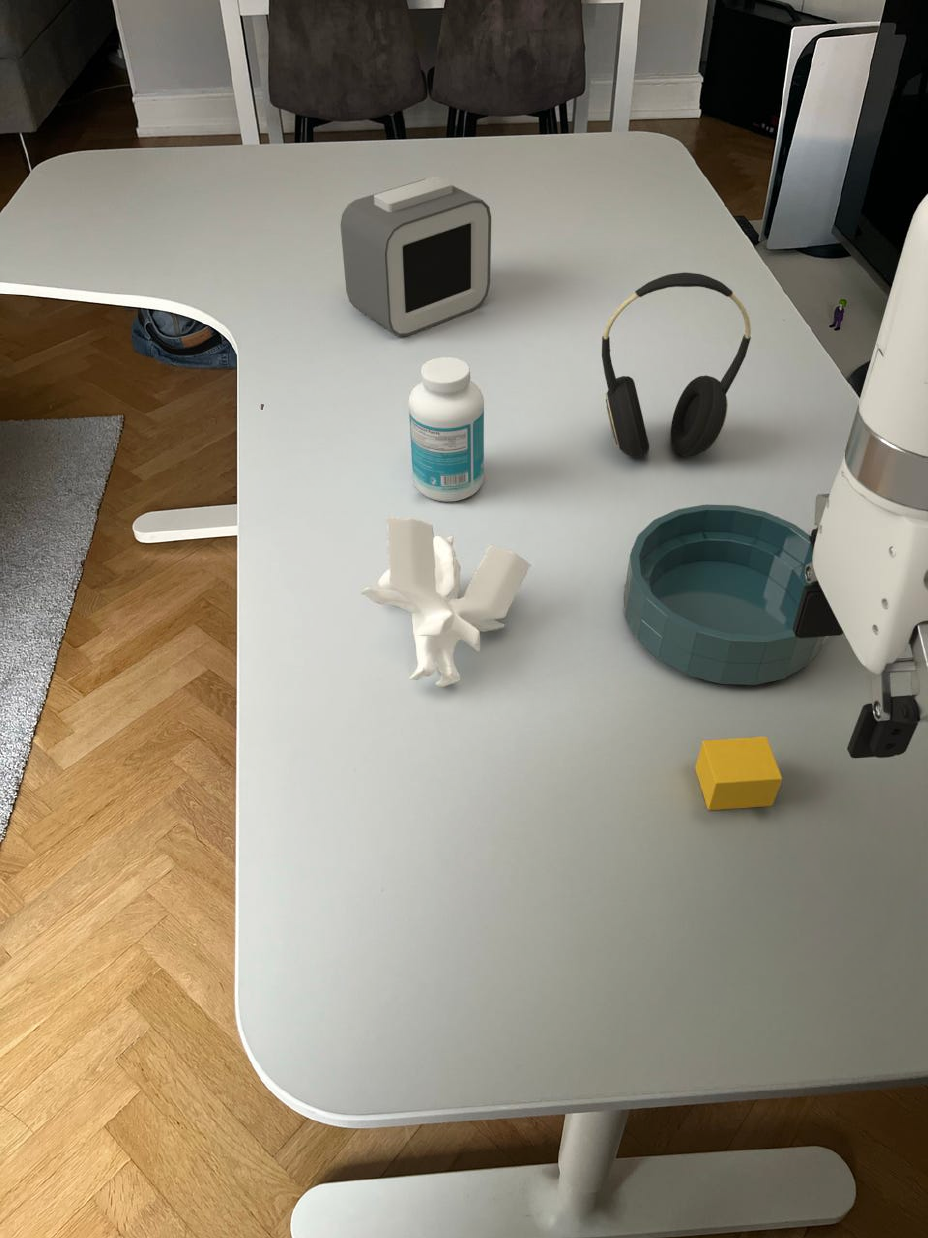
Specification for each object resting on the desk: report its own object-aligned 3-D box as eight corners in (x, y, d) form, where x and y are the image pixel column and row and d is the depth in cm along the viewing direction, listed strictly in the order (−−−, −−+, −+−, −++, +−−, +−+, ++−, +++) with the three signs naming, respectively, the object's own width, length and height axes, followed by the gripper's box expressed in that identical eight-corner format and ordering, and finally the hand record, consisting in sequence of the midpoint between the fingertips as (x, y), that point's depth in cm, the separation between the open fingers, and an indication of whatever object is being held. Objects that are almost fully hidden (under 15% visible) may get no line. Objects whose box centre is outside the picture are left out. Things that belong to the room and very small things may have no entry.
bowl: (854, 607, 90) (873, 557, 86) (765, 724, 81) (781, 674, 77) (684, 530, 98) (694, 481, 94) (585, 628, 89) (591, 578, 84)
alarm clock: (390, 343, 125) (382, 219, 114) (339, 309, 131) (328, 189, 120) (489, 304, 132) (491, 184, 121) (437, 274, 138) (435, 157, 127)
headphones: (733, 472, 105) (775, 295, 91) (594, 473, 105) (613, 296, 91) (718, 427, 111) (755, 253, 97) (586, 427, 111) (604, 254, 97)
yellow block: (694, 768, 78) (702, 740, 75) (757, 764, 78) (766, 735, 75) (707, 811, 75) (715, 783, 72) (772, 806, 75) (783, 778, 73)
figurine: (460, 717, 91) (457, 579, 97) (541, 679, 82) (532, 531, 88) (314, 686, 83) (320, 538, 88) (388, 641, 74) (389, 480, 80)
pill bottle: (449, 453, 108) (447, 340, 98) (498, 483, 104) (501, 368, 94) (397, 483, 104) (390, 368, 94) (446, 514, 100) (444, 398, 91)
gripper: (1101, 560, 42) (968, 802, 54) (930, 358, 55) (853, 590, 66) (927, 572, 42) (832, 813, 53) (796, 366, 54) (742, 598, 66)
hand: (844, 689), depth 60 cm, fingers open, 9 cm apart
